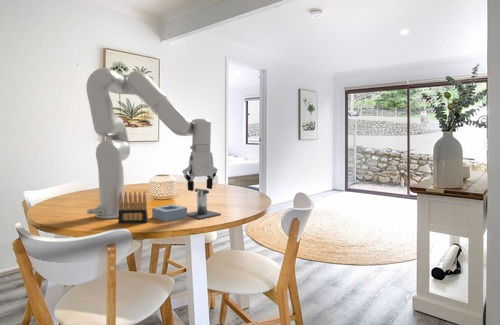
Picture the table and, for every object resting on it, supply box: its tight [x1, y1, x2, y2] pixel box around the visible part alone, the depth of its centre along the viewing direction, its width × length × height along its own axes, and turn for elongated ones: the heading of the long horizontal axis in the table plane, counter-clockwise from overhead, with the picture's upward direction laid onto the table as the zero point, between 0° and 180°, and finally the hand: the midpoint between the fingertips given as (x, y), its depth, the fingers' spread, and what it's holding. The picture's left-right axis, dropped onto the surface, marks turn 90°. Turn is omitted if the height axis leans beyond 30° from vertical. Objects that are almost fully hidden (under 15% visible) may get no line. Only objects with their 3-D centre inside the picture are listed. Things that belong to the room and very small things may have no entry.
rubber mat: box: [187, 209, 222, 221], centre depth 133 cm, size 11×11×1 cm
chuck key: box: [194, 188, 210, 215], centre depth 133 cm, size 4×8×10 cm, turn 46°
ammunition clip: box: [117, 191, 149, 224], centre depth 121 cm, size 11×2×12 cm, turn 95°
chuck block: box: [151, 204, 188, 223], centre depth 129 cm, size 10×10×4 cm
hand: (200, 189), depth 133 cm, fingers open, 9 cm apart
